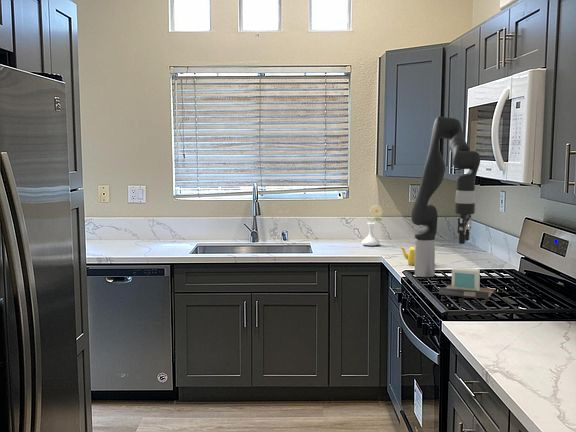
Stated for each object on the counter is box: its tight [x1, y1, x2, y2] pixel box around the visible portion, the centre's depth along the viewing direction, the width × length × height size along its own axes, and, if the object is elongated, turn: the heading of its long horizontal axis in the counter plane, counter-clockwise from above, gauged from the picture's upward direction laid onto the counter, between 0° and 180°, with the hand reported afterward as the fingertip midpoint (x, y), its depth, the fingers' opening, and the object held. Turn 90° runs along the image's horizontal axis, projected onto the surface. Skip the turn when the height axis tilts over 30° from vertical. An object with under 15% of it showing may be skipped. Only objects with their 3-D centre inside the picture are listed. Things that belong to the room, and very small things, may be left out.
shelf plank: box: [438, 284, 496, 300], centre depth 253 cm, size 18×19×4 cm
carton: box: [451, 266, 481, 291], centre depth 248 cm, size 5×10×10 cm, turn 64°
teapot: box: [399, 246, 415, 267], centre depth 320 cm, size 15×14×10 cm
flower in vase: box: [361, 204, 384, 247], centre depth 379 cm, size 13×11×25 cm
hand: (464, 242), depth 248 cm, fingers open, 8 cm apart
